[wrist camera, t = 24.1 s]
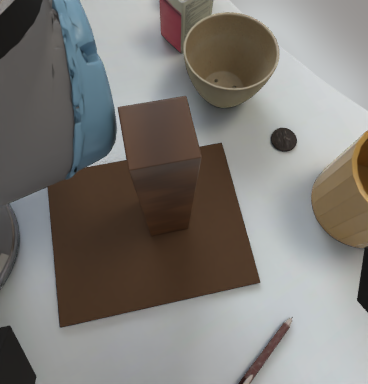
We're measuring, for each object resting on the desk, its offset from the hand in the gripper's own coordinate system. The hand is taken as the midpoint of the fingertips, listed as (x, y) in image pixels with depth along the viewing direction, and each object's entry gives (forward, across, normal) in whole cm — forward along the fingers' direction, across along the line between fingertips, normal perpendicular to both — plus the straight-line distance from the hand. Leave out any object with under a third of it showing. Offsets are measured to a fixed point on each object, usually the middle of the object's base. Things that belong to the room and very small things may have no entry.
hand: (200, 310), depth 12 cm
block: (+22, 0, -8) cm, 23 cm away
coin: (+26, +16, -4) cm, 31 cm away
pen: (+11, +6, -20) cm, 23 cm away
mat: (+22, -2, -9) cm, 23 cm away
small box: (+39, +7, +8) cm, 40 cm away
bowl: (+32, +10, +2) cm, 34 cm away
